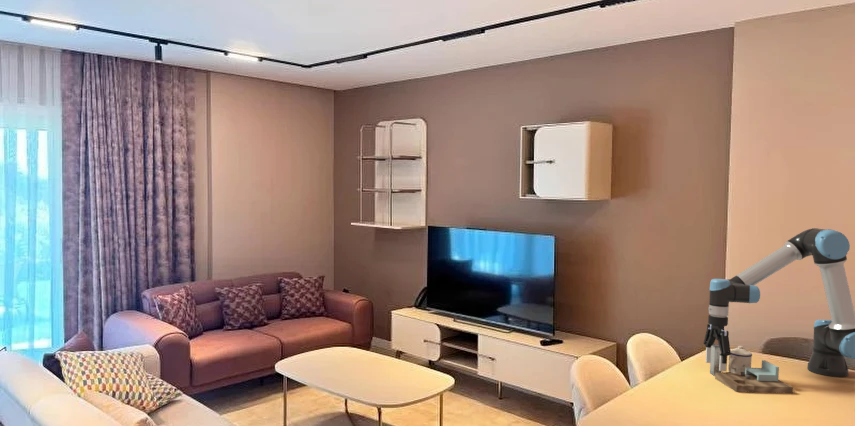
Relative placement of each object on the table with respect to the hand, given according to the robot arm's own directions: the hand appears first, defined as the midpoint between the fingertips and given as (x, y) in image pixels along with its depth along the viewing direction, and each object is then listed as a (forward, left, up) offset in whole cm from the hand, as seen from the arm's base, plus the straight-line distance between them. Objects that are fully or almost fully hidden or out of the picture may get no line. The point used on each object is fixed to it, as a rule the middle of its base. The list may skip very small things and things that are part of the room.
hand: (715, 366), depth 258 cm
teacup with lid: (-11, -3, -4) cm, 12 cm away
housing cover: (-13, +11, -1) cm, 17 cm away
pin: (0, 0, -3) cm, 3 cm away
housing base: (-8, +15, -3) cm, 17 cm away
